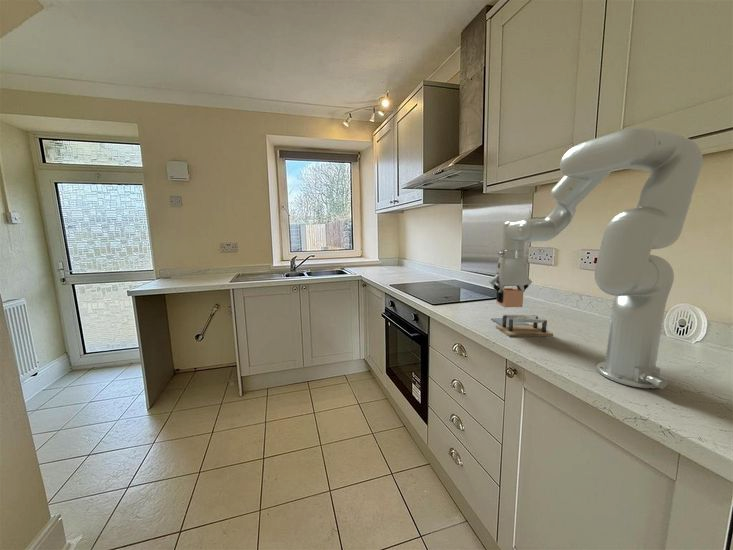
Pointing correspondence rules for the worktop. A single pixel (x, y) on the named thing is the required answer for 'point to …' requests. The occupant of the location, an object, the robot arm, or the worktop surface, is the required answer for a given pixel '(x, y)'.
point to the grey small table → (524, 319)
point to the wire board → (523, 331)
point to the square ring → (511, 297)
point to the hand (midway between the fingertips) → (509, 301)
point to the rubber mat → (499, 321)
